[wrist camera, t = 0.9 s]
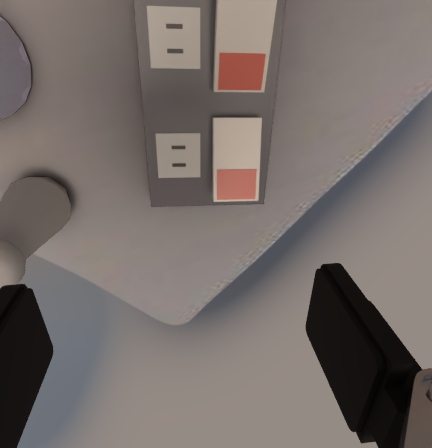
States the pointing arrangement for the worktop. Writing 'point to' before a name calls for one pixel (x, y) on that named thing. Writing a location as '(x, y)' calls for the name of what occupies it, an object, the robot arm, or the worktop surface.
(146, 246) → the worktop surface
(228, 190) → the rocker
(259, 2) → the rocker middle
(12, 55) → the soap bottle
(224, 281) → the worktop surface
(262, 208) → the worktop surface
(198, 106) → the rocker switch panel
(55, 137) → the worktop surface
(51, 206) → the salt shaker
